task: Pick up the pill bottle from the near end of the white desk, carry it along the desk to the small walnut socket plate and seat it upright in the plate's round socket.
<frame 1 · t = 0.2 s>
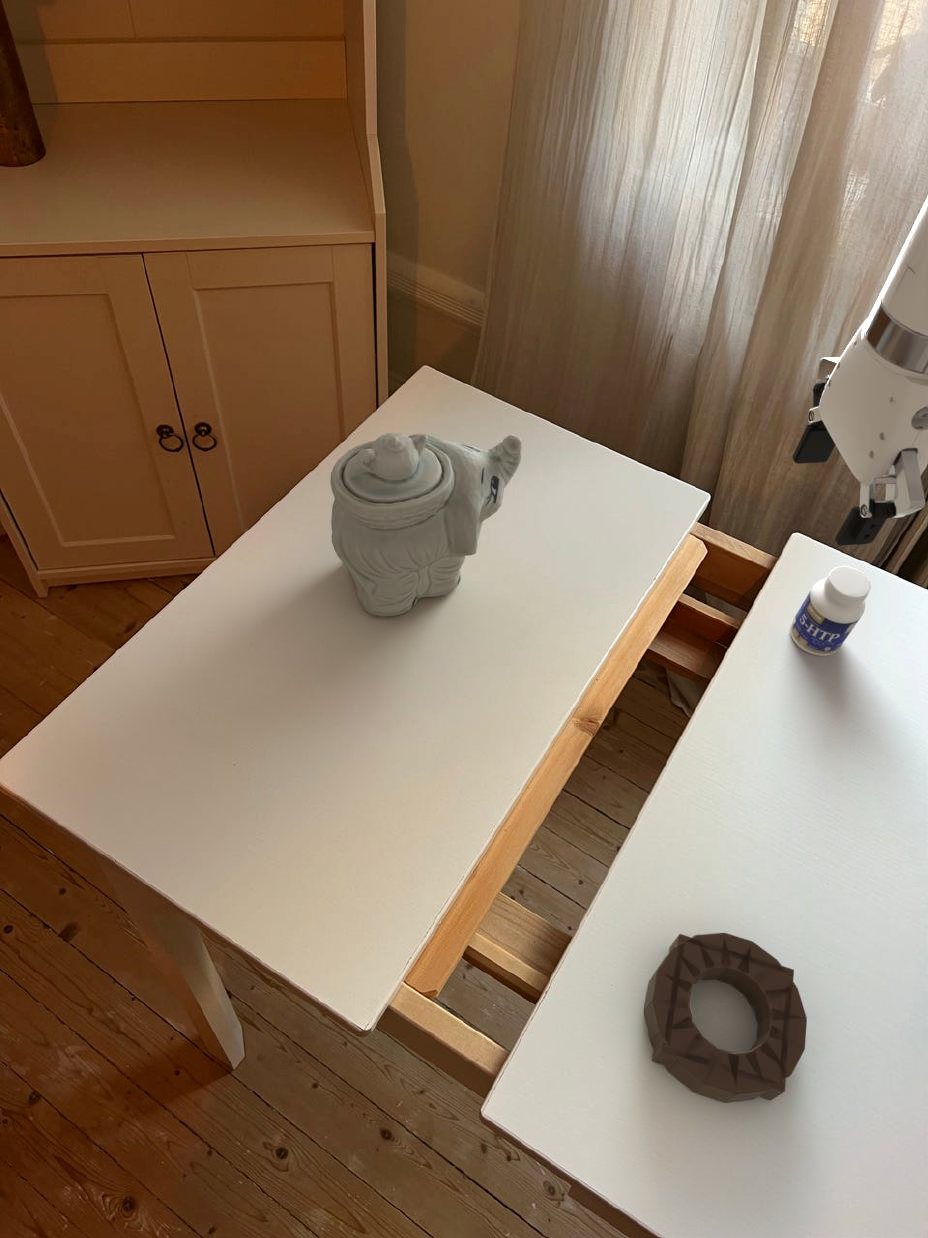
hand: (830, 499, 82), 19 cm above the table, tool pointing down, fingers open, 9 cm apart
pill bottle: (814, 637, 98), on the table
teapot: (423, 569, 99), on the table
socket plate: (718, 1020, 74), on the table
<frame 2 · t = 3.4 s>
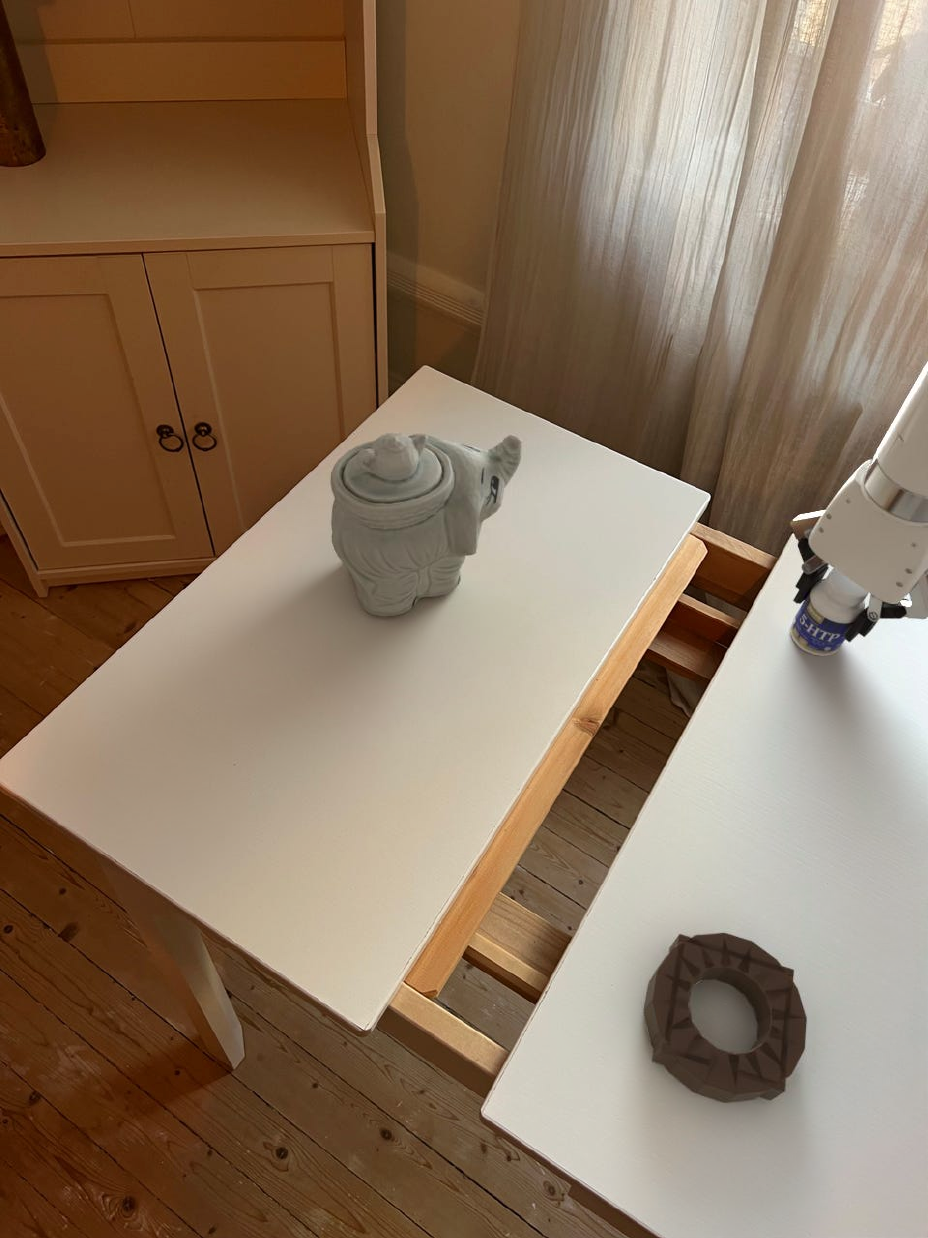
hand: (829, 613, 95), 4 cm above the table, tool pointing down, fingers closed on pill bottle, 5 cm apart
pill bottle: (814, 637, 98), on the table, touching gripper
everything else where it was.
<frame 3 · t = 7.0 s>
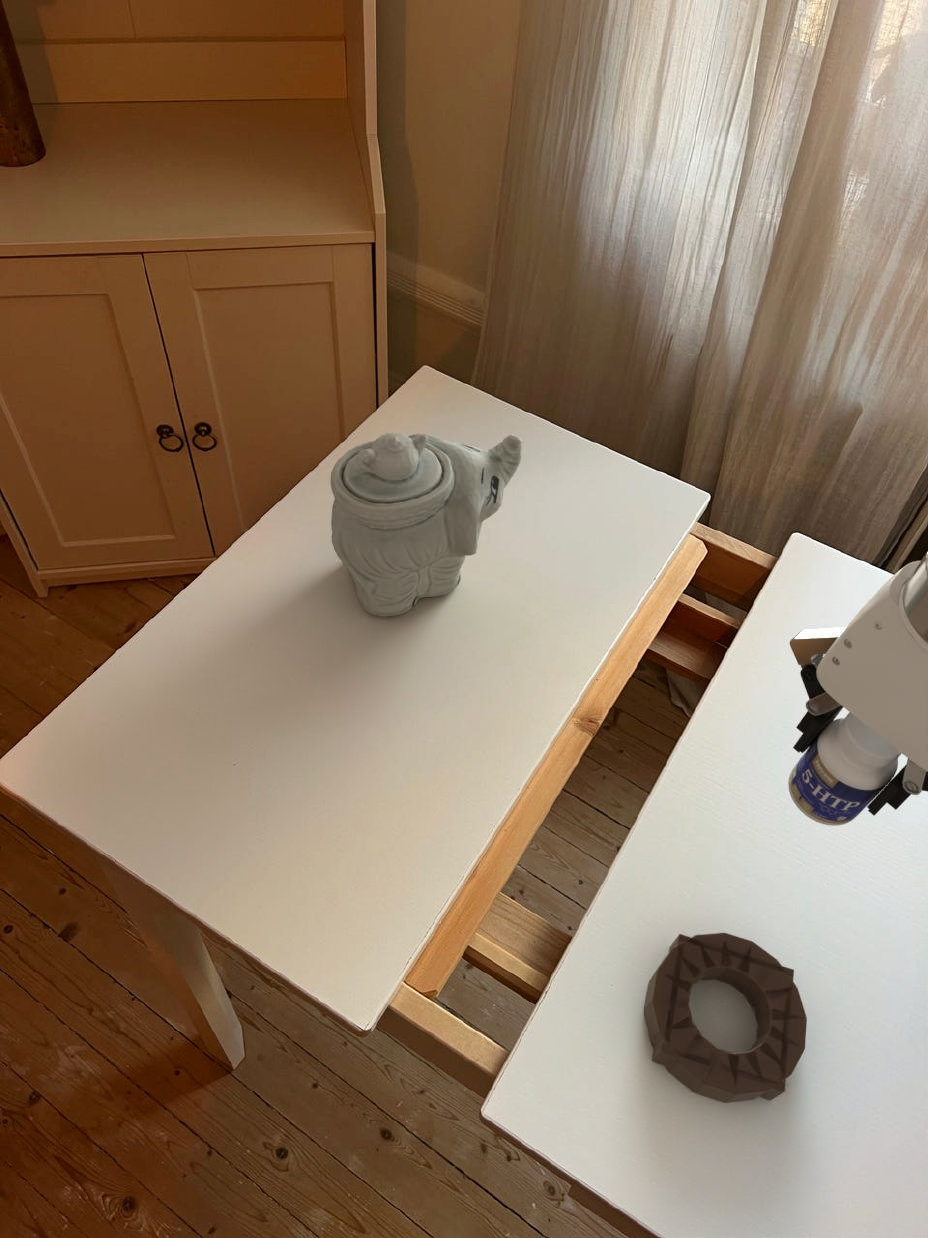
hand: (845, 768, 65), 20 cm above the table, tool pointing down, fingers closed on pill bottle, 5 cm apart
pill bottle: (822, 795, 69), point 16 cm above the table, touching gripper
everything else where it was.
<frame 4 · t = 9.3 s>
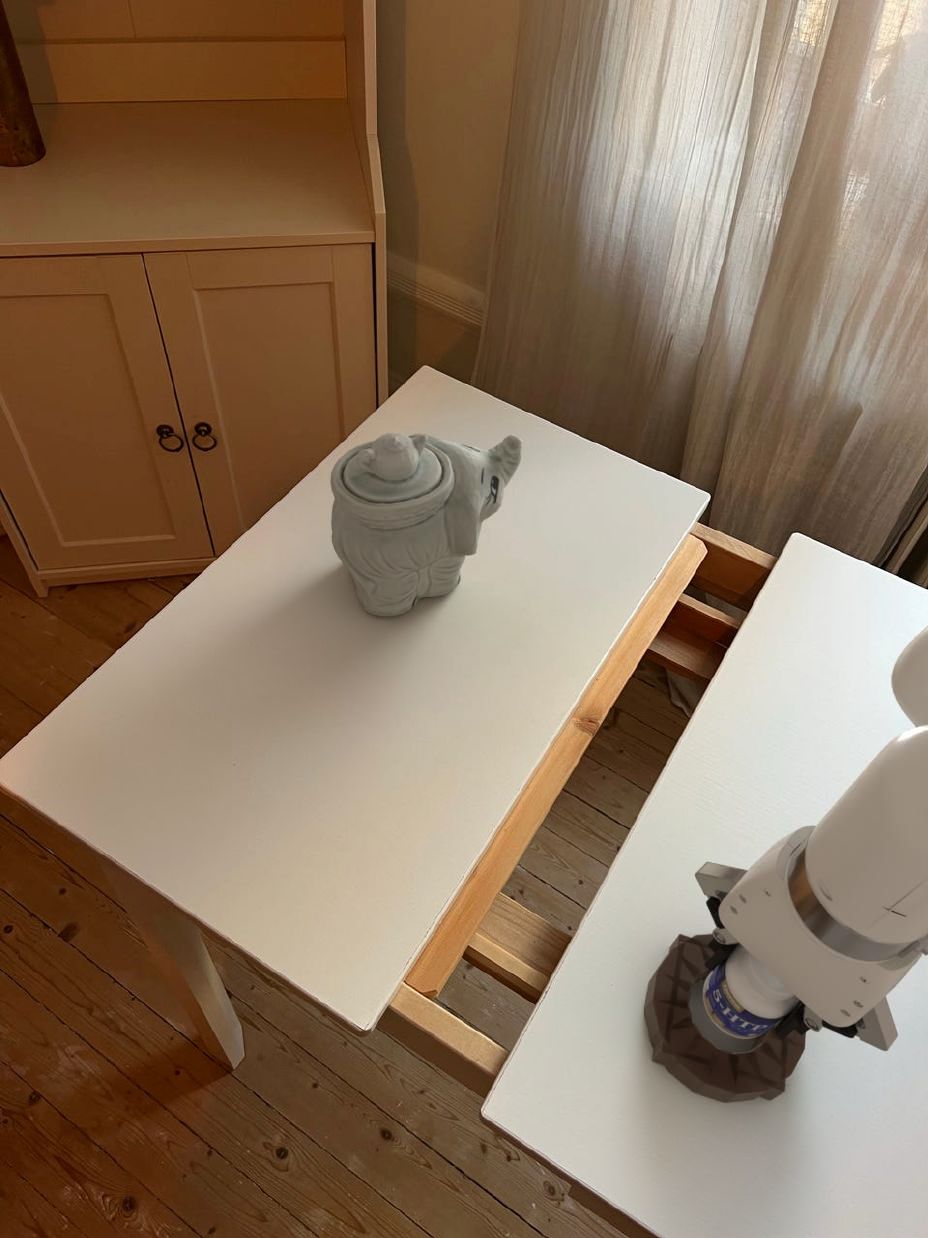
hand: (754, 986, 67), 9 cm above the table, tool pointing down, fingers closed on pill bottle, 5 cm apart
pill bottle: (736, 1003, 70), point 4 cm above the table, touching gripper
everything else where it was.
when the fingers open (4 cm above the table, at t = 11.0 s): pill bottle stays where it is, resting in socket plate.
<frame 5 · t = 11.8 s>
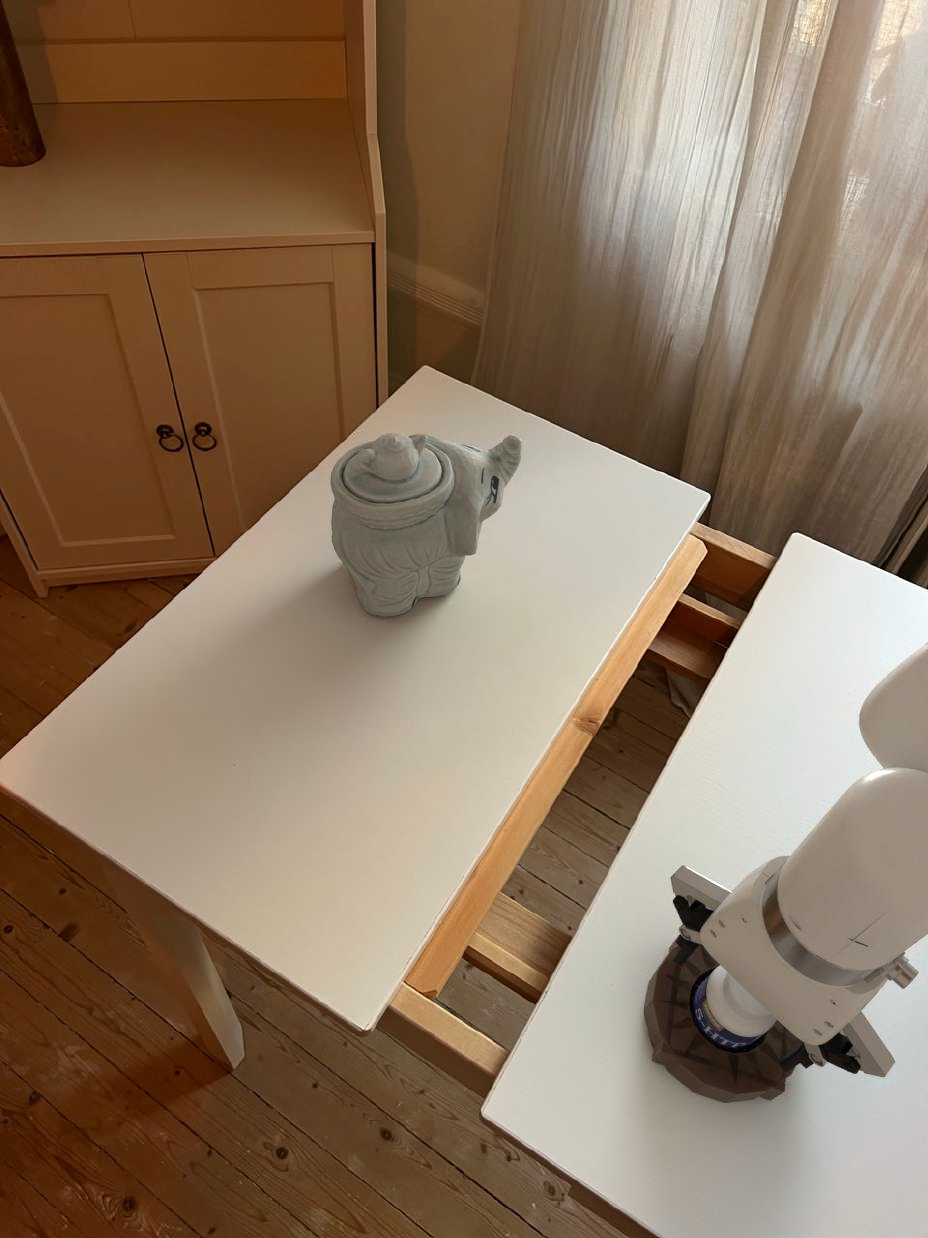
hand: (739, 1000, 70), 5 cm above the table, tool pointing down, fingers open, 9 cm apart
pill bottle: (717, 1020, 74), resting in socket plate
everything else where it was.
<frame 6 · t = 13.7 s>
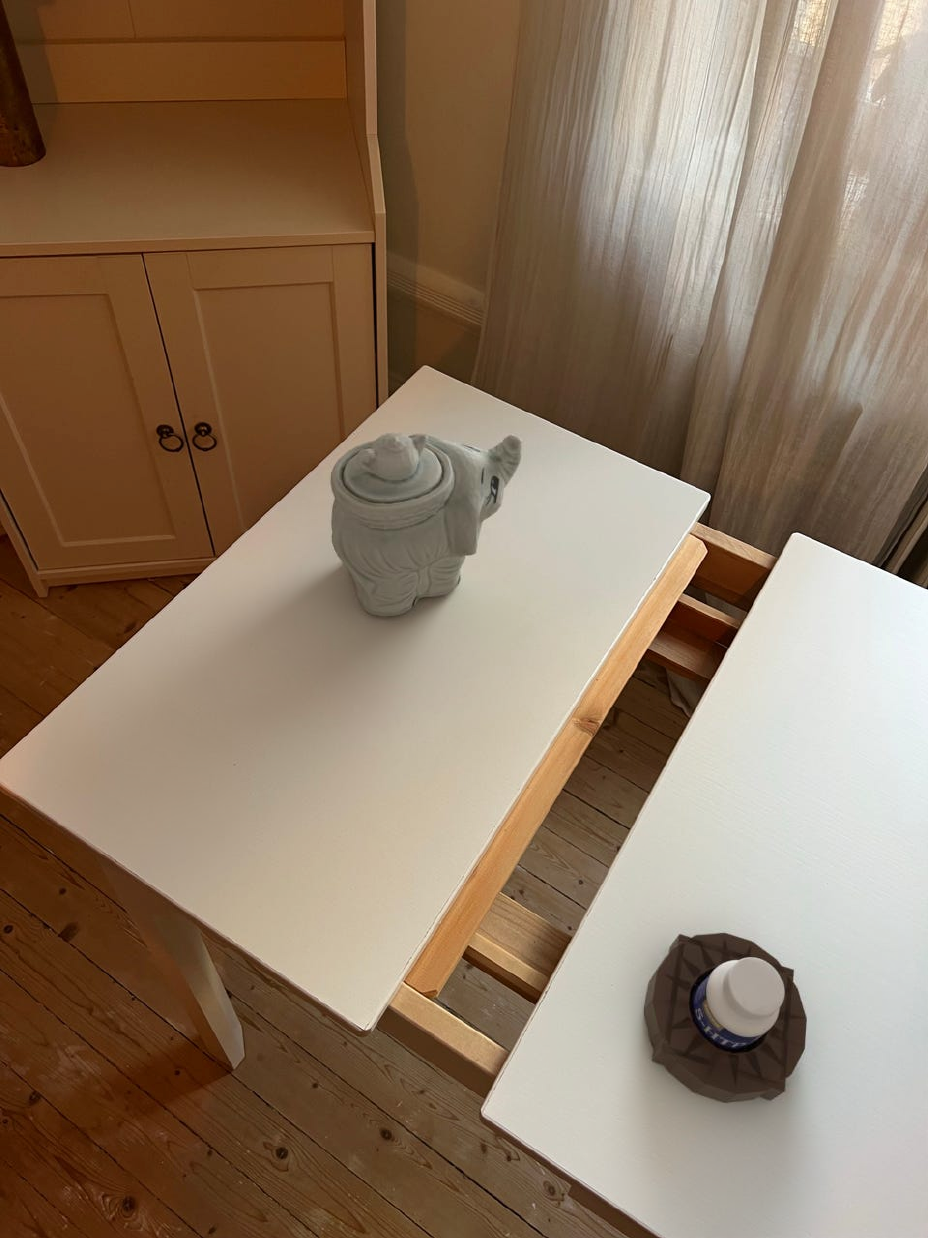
nothing on the table moved.
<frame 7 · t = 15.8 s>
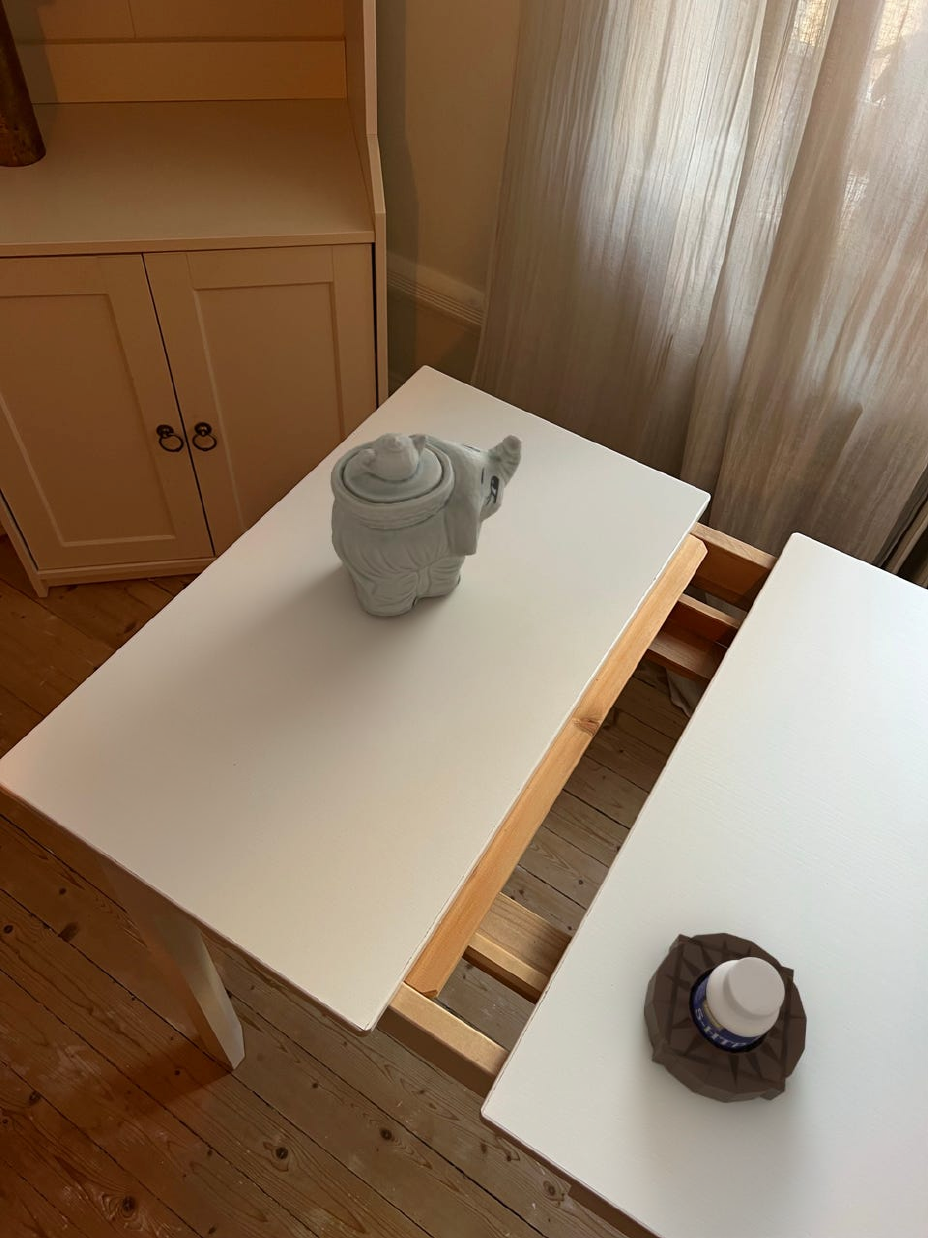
nothing on the table moved.
at the end: pill bottle 0.0 cm off-centre in the socket plate, point 0.0 cm above the socket plate's base; pill bottle tilted 0°; the gripper is holding nothing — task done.
